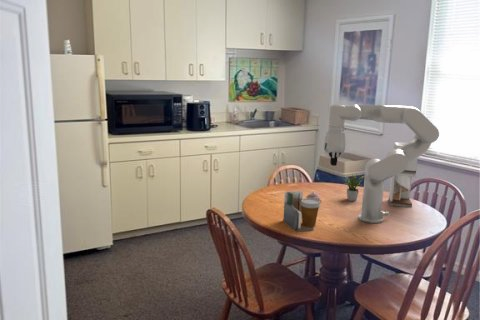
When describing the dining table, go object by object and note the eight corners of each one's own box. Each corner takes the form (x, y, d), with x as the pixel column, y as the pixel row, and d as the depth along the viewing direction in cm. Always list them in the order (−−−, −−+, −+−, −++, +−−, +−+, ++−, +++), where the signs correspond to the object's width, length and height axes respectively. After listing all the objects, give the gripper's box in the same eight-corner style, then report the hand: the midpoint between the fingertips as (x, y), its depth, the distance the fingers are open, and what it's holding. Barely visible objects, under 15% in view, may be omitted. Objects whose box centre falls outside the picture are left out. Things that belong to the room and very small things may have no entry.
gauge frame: (300, 219, 207) (302, 190, 204) (314, 230, 193) (316, 199, 190) (282, 220, 205) (284, 191, 202) (295, 231, 190) (297, 201, 187)
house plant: (368, 204, 234) (371, 176, 231) (344, 203, 234) (346, 176, 231) (361, 197, 248) (364, 171, 245) (339, 196, 248) (341, 170, 245)
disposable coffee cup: (322, 224, 200) (323, 201, 198) (311, 229, 193) (313, 205, 191) (306, 219, 207) (307, 197, 204) (295, 224, 200) (296, 200, 197)
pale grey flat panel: (289, 219, 204) (291, 192, 202) (300, 229, 192) (302, 200, 189) (287, 219, 204) (289, 192, 201) (298, 229, 192) (300, 200, 189)
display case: (390, 205, 234) (397, 145, 227) (388, 199, 244) (394, 142, 237) (411, 207, 231) (418, 146, 224) (408, 201, 241) (415, 143, 234)
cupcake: (309, 204, 231) (310, 187, 229) (324, 208, 225) (325, 191, 223) (300, 208, 224) (301, 191, 222) (315, 212, 218) (317, 194, 216)
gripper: (345, 128, 210) (342, 163, 214) (319, 128, 206) (316, 164, 210) (353, 130, 203) (350, 166, 207) (326, 130, 199) (323, 167, 203)
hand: (333, 165), depth 209 cm, fingers closed
